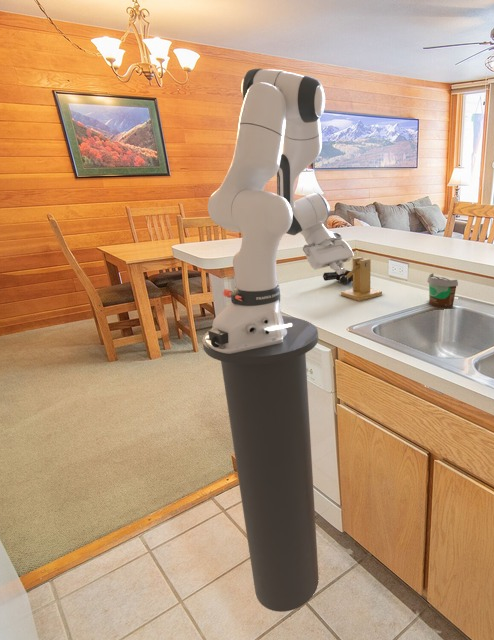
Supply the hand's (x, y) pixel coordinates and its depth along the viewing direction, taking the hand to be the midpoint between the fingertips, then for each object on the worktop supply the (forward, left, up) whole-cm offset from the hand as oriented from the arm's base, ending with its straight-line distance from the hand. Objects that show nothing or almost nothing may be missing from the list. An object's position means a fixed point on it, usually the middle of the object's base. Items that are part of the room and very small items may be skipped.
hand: (342, 273), depth 156 cm
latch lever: (+5, 0, -2) cm, 6 cm away
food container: (+21, -27, -10) cm, 36 cm away
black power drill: (+17, +16, -10) cm, 25 cm away
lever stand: (+9, 0, -10) cm, 13 cm away
